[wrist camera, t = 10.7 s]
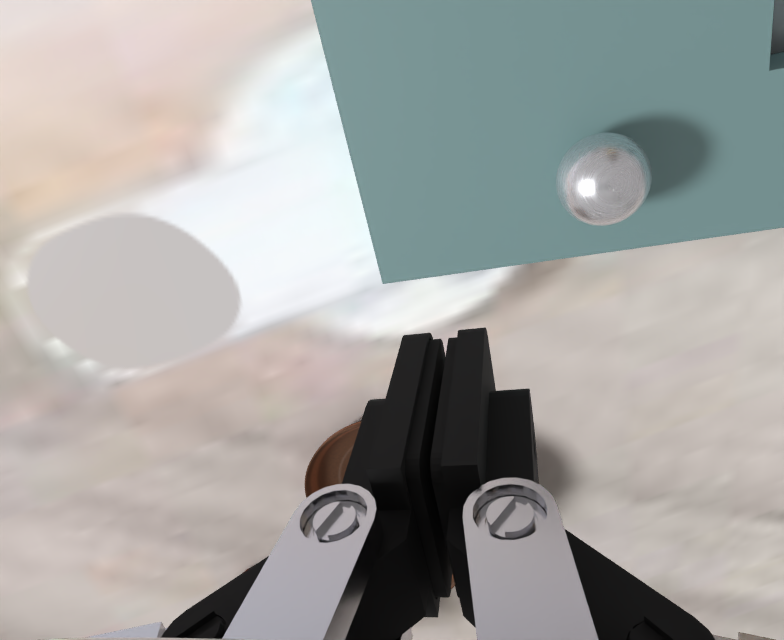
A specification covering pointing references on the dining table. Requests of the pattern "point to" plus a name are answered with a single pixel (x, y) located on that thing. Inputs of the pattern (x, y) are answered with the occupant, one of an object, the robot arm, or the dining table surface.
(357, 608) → the robot arm
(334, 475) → the cup and saucer
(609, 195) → the ball
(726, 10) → the grey-green flat board
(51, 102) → the dining table surface
